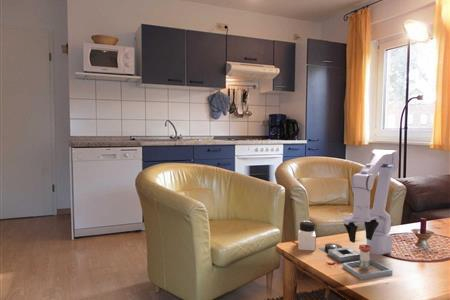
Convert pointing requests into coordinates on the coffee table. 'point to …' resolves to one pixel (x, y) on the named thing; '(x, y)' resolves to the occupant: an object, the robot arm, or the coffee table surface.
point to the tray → (368, 275)
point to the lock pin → (364, 257)
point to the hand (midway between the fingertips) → (360, 240)
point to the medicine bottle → (306, 236)
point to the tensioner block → (341, 253)
